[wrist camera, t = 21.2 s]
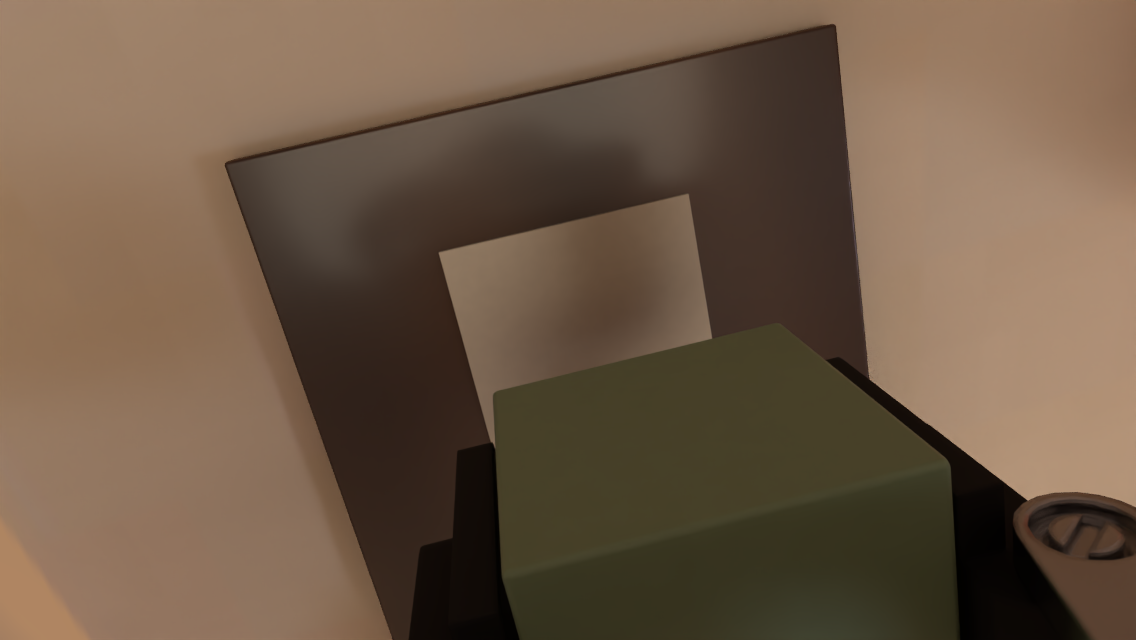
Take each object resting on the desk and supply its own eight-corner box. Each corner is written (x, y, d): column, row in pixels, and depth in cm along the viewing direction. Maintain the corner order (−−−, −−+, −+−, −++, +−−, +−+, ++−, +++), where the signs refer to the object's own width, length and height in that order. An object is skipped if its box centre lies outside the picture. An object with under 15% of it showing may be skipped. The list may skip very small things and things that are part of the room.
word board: (473, 850, 24) (473, 872, 23) (230, 159, 17) (221, 163, 17) (894, 735, 25) (906, 753, 24) (825, 24, 18) (839, 22, 17)
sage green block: (555, 629, 13) (594, 901, 8) (490, 389, 11) (499, 575, 7) (811, 562, 13) (973, 798, 9) (779, 320, 11) (955, 459, 7)
